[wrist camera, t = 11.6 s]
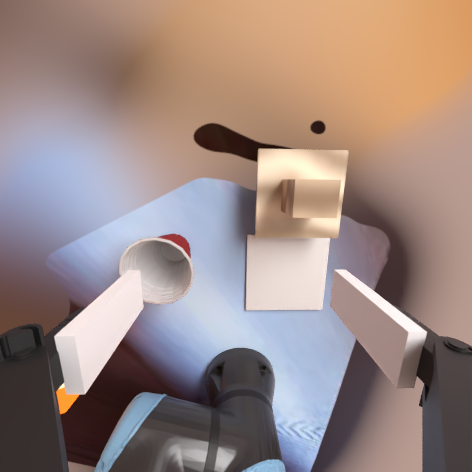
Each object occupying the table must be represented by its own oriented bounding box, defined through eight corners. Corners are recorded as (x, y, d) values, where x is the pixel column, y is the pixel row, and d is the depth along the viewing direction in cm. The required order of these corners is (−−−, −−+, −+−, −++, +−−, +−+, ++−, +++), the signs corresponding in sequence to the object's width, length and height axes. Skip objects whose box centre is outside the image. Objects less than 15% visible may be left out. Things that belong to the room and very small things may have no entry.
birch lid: (335, 236, 39) (361, 250, 32) (255, 236, 39) (261, 249, 31) (346, 151, 36) (377, 143, 29) (258, 149, 36) (265, 140, 28)
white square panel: (321, 307, 48) (322, 309, 48) (245, 308, 48) (245, 310, 47) (328, 234, 45) (330, 235, 44) (247, 234, 44) (247, 235, 44)
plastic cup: (148, 274, 45) (120, 307, 34) (145, 220, 43) (114, 236, 31) (202, 275, 46) (194, 308, 34) (203, 222, 43) (193, 238, 32)
